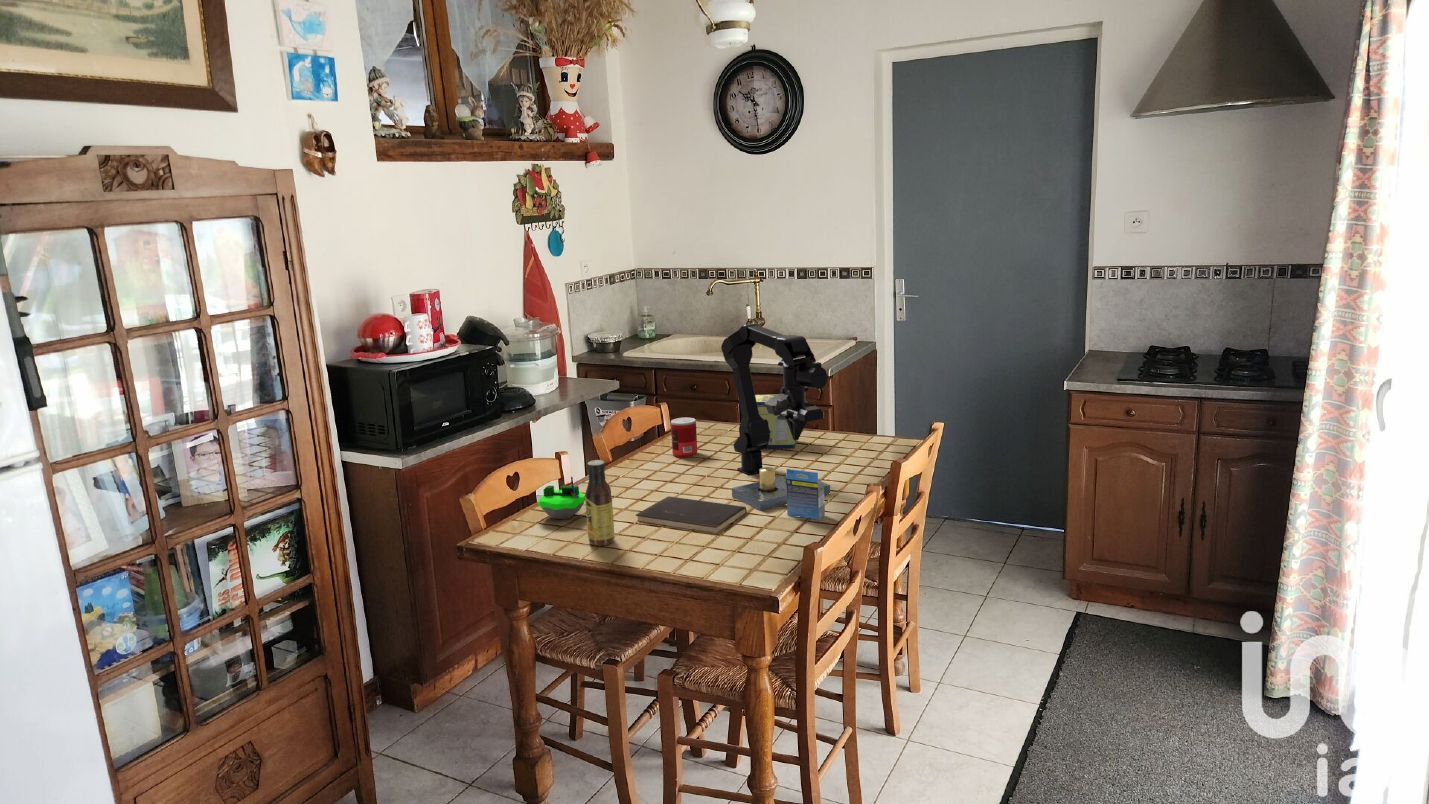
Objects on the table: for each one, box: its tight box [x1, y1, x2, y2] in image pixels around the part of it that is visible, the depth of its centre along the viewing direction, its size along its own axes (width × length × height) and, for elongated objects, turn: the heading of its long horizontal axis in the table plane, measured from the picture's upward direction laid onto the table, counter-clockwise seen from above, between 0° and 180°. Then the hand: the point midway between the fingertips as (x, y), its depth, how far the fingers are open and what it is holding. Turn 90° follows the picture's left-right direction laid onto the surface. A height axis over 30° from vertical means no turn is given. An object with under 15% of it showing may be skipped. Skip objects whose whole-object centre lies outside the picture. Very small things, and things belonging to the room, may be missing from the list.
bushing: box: [759, 466, 776, 493], centre depth 248 cm, size 4×4×8 cm
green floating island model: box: [537, 476, 585, 520], centre depth 241 cm, size 12×12×11 cm
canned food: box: [670, 416, 698, 459], centre depth 293 cm, size 8×8×11 cm
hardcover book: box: [635, 495, 747, 534], centre depth 238 cm, size 16×23×2 cm
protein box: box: [755, 394, 797, 450], centre depth 299 cm, size 10×16×16 cm
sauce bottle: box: [584, 459, 615, 547], centre depth 221 cm, size 7×6×20 cm
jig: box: [731, 474, 831, 511], centre depth 251 cm, size 14×22×3 cm, turn 120°
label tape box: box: [785, 468, 826, 521], centre depth 233 cm, size 9×4×12 cm, turn 60°
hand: (795, 440), depth 255 cm, fingers closed
